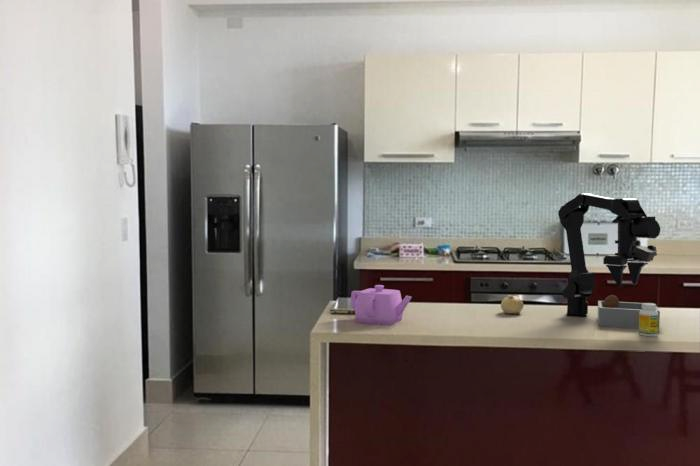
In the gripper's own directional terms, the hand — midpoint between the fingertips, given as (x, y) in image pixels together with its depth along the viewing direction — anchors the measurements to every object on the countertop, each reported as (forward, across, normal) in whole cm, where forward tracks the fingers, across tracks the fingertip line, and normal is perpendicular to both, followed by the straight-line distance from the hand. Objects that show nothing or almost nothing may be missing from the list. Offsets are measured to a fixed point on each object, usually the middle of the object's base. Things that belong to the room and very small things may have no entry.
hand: (627, 285), depth 204 cm
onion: (+13, -11, +38) cm, 41 cm away
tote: (+14, +5, +3) cm, 15 cm away
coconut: (+12, +2, +8) cm, 15 cm away
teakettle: (+13, -57, +57) cm, 81 cm away
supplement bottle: (+14, -5, -10) cm, 18 cm away
